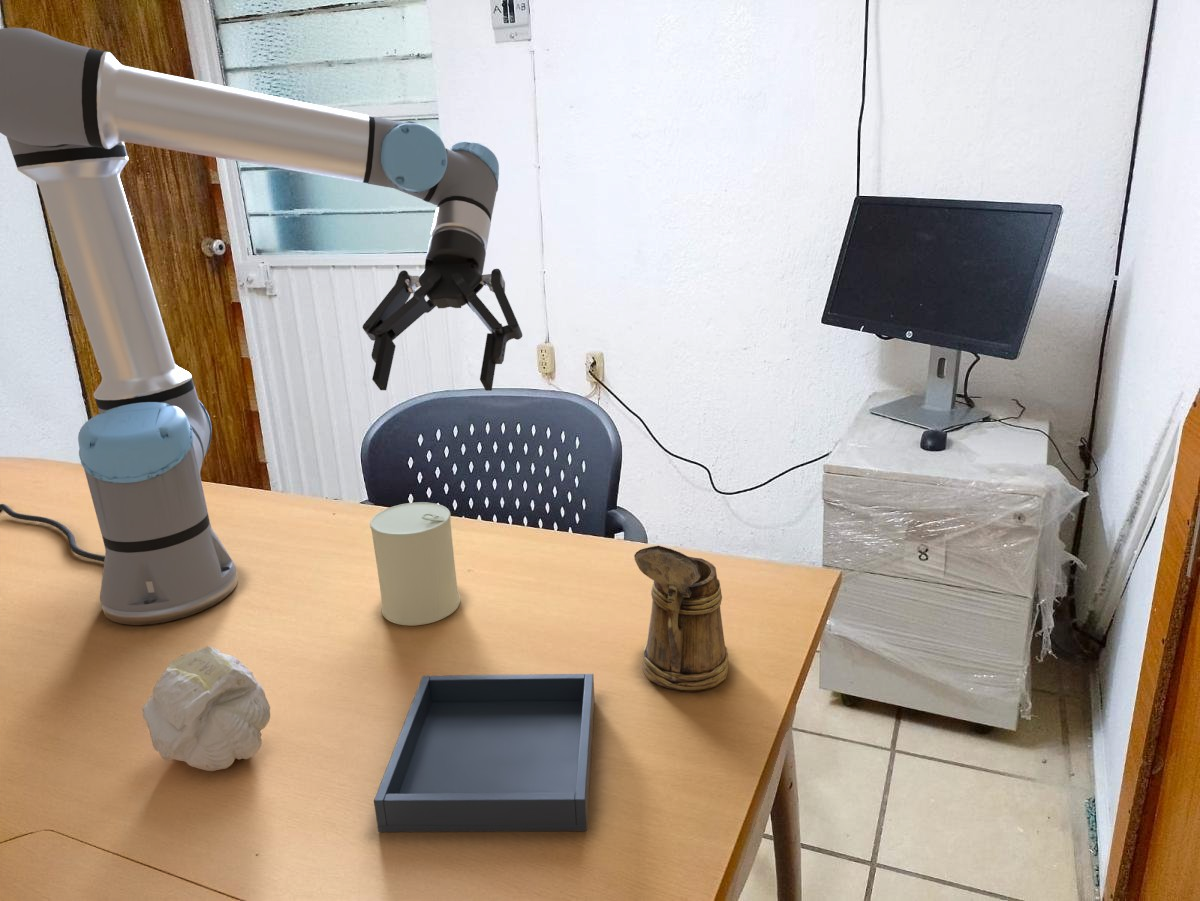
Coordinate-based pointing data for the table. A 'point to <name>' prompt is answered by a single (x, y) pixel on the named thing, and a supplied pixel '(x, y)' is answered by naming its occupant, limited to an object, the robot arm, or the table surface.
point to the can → (415, 563)
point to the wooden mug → (683, 621)
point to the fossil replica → (207, 710)
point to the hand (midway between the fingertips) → (431, 385)
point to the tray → (492, 756)
